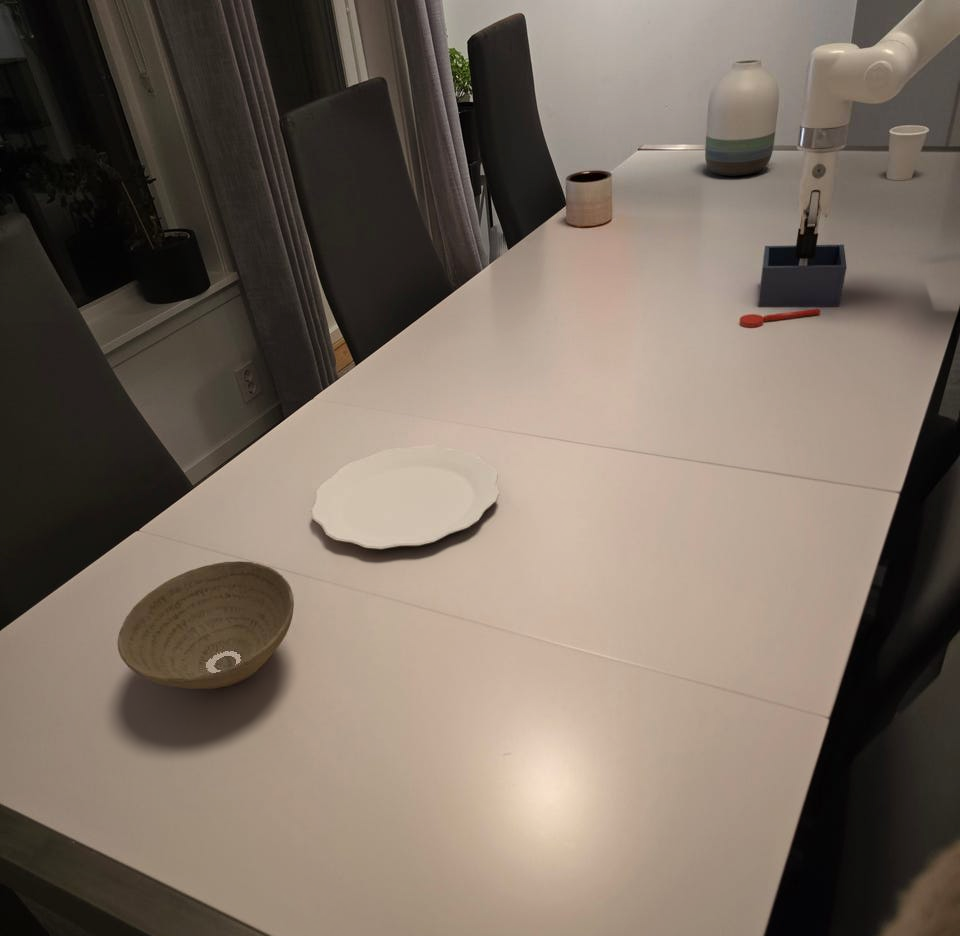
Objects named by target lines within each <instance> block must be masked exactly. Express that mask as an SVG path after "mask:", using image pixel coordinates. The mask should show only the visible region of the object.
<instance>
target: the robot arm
mask: <svg viewBox="0 0 960 936" xmlns="http://www.w3.org/2000/svg"><path fill="white" fill-rule="evenodd" d="M958 36H960V0H921V1H920V2H919V3H918V4H917V5H916V6H915V7H913V9H912V10H911V11H910V12H908V14H907V15H905V17H903V18H902V19H901V20H900V21H899V22H898V23H897V24H896V25H895V26H894V27H893V28H892V29H891V30H890V31H889V32H887V34H886V35H884V36H883V37H882V38H881V39H880V40H879V41H878V42H876V43H875V44H874V45H873V46H871V47H870V46H869V47H864V48H860V47H859V46H858V45H857V44H855V43H851V42H834V43H827V44H822V45H818V46H816V47H815V48H814V49H813V50H812V51H811V52H810V55H809V57H808V60H807V61H808V62H807V68H806V75H805V84H804V89H803V90H804V92H803V98H802V99H803V100H802V105H801V112H800V121H799V129H798V136H797V143H796V149H797V150H799V151H800V152H803V155H802V162H801V169H800V170H801V171H800V179H799V189H798V190H799V191H798V213H799V214H798V215H799V216H800V224H799V228H797V229H798V230H797V236H796V237H797V238H796V244H795V245H796V258H797V259H808V258H814V257H815V252H816V245H818V239H819V233H818V230H819V225H820V219H821V215H822V216H824V217H825V218H828V217H829V216H830V214H831V208H832V207H831V206H832V199H833V193H834V187H835V180H836V173H837V167H838V158H839V157H838V155H839V150H843V149H845V147H846V146H847V140H848V139H847V138H848V133H849V128H850V120H851V116H852V115H851V114H852V108H853V103H854V102H857V103H863V104H870V105H877V104H883V103H886V102H888V101H890V100H892V99H893V98H894V97H895V96H897V95H898V94H899V93H900V91H901V90H902V89H903V88H904V86H905V85H906V84H907V83H908V82H909V81H910V80H911V79H912V78H913V77H914V76H915V75H916V74H917V73H918V72H919V71H920V70H921V69H922V68H923V67H925V66H926V65H927V64H928V63H930V61H931V60H932V59H933V58H935V56H937V55H938V54H939V53H940V52H941V51H942V50H944V48H946V47H947V46H948V45H950V43H952V41H954V40H955V39H956V38H957V37H958Z"/></svg>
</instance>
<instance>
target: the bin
mask: <svg viewBox="0 0 960 936" xmlns="http://www.w3.org/2000/svg"><path fill="white" fill-rule="evenodd" d="M845 251H846V250H845V244H817V245H816V252H815V257H814V258H808V259H807V266H798V265H799V262H800V259H797V258H796V244H795V245H794V244H793V245H764V251H763V259H762V268H761V275H760V283H759V284H760V285H759V296H758V297H759V298H758V307H821V308H822V307H823V308H824V307H826V308H827V307H829V308H830V307H832V308H833V307H840V305H841V299H842V293H843V288H844V283H845V278H846V272H847V258H846V252H845Z"/></svg>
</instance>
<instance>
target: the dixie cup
mask: <svg viewBox="0 0 960 936" xmlns="http://www.w3.org/2000/svg"><path fill="white" fill-rule="evenodd" d="M929 131H930V129H929V128H928V127H927V126H925V125H915V124H914V125H913V124H911V125H900V126H895V127H892V128H890V130H889V131H888V132H889V141H888V155H887V164H886V165H887V166H886V176H885V177H886V179H887V180H889V181H908V180H911V179H912V178H913V177H914V176H913V175H914V173H915V170H916V167H917V164H918V161H919V158H920V155H921V153H922V152H921V151H922V149H923V146H924V143H925V141H926V137H927V135H928V133H929Z"/></svg>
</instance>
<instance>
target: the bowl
mask: <svg viewBox="0 0 960 936" xmlns="http://www.w3.org/2000/svg"><path fill="white" fill-rule="evenodd" d="M294 608H295V601H294V594H293V591H292V588H291V585H290V584H289V582H288V580H287V579H286V578H285V577H284V576H283V575H282V574H281V573H279V572H278V571H277V570H275V569H274V568H272V567H270V566H267V565H263V564H261V563H258V562H257V563H256V562H253V561H242V560H239V561H224V562H218V563H216V562H215V563H212V564H208V565H204V566H200V567H197V568H193V569H190V570H188V571H186V572H184V573H180V574H178V575H176V576H175V577H172V578H170V579H168V580H167V581H165V582H163V583H162V584H160V585H159V586H157V587H155V588H154V589H153V590H152V591H150V592H148V593H147V594H146V595H145V596H144V597H142V599H140V600H139V602H137V603H136V604H135V605H134V606H133V607H132V608H131V610H130V612H129V613H128V614H127V615H126V617H125V619H124V621H123V622H122V625H121V627H120V629H119V632H118V636H117V650H118V655H119V656H120V658H121V659H122V661H123V662H124V664H125V665H126V666H127V667H128V668H129V669H130V670H131V671H132V672H134V674H135V673H136V674H137V675H139V676H141V678H142V677H143V678H144V679H147V680H149V681H152V682H154V683H157V684H160V685H163V686H167V687H170V688H171V687H172V688H180V689H191V690H195V689H196V690H202V689H203V690H211V689H220V688H224V687H229V686H231V685H232V686H233V685H234V684H238V683H239V682H242V681H244V680H246V679H247V678H249V677H251V676H252V675H253V674H255V673H256V672H257V671H258V670H259V669H260V668H262V667H263V665H264V664H265V663H266V662H267V660H269V658H271V656H272V655H273V654H274V653H275V651H276V650H277V649H278V647H279V646H280V645H281V643H282V642H283V640H284V639H285V637H286V636H287V633H288V632H289V629H290V626H291V623H292V620H293V616H294ZM225 651H229V652H230V651H234V652H237V654H240V656H241V657H240V659H241V661H240V663H238V664H236V659H235V658H234V657H232V656H224V657H222V658H220V659H219V660H217V661H216V663H215V665H214V667H215V668H216V669H217V670H221V671H220V672H216V673H211V672H209V671H208V670H207V669H208V668H206V662H208V660H209V659H210V658H211V659H212V658H213V656H214V655H217V653H218V654H220V652H221V653H223V652H225ZM235 664H236V665H235Z"/></svg>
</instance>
